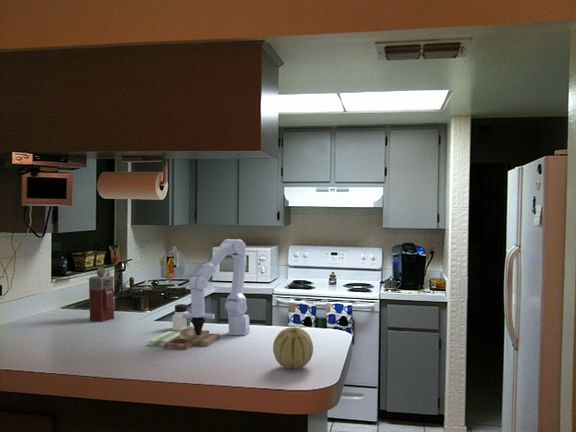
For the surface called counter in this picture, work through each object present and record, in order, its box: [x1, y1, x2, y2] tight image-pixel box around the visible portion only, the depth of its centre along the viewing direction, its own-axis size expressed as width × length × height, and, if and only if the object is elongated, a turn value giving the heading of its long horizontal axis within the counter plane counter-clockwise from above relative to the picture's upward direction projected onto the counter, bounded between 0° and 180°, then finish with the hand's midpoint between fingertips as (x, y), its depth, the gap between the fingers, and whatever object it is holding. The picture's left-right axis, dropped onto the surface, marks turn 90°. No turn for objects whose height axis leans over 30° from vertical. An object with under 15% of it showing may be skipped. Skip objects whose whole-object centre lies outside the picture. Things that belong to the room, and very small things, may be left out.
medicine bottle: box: [172, 303, 191, 331], centre depth 254 cm, size 7×7×12 cm
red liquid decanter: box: [88, 267, 115, 323], centre depth 281 cm, size 9×11×28 cm
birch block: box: [179, 325, 198, 339], centre depth 229 cm, size 6×6×4 cm
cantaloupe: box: [272, 326, 314, 370], centre depth 187 cm, size 15×15×15 cm
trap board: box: [148, 329, 220, 350], centre depth 229 cm, size 26×26×2 cm
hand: (198, 334), depth 228 cm, fingers closed
